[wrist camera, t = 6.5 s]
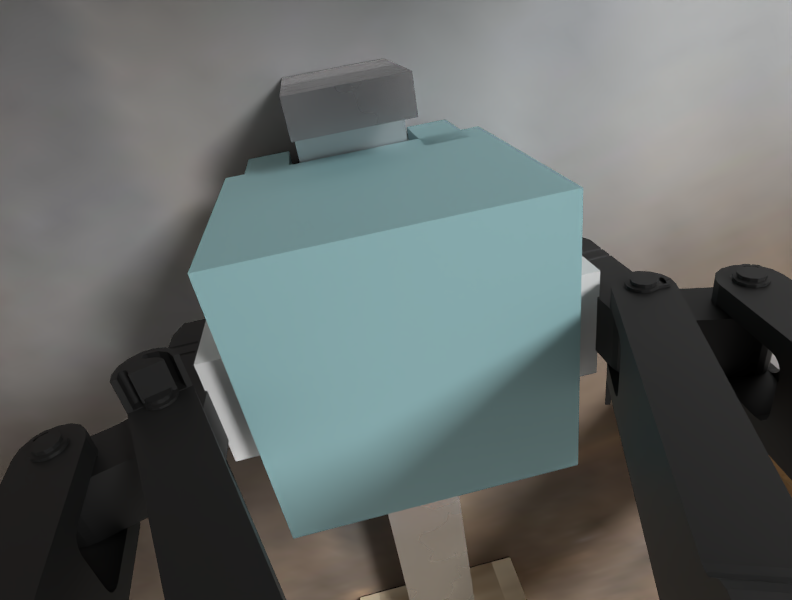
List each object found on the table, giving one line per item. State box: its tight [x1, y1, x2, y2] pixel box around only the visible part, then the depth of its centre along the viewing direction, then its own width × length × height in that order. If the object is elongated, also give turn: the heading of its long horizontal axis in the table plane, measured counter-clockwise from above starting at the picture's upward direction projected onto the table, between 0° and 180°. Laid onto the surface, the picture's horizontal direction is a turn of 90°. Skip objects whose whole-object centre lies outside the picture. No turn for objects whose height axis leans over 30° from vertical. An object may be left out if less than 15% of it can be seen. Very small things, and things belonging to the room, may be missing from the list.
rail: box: [279, 59, 474, 600], centre depth 20 cm, size 26×3×4 cm, turn 9°
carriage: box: [188, 120, 583, 539], centre depth 14 cm, size 7×7×8 cm
